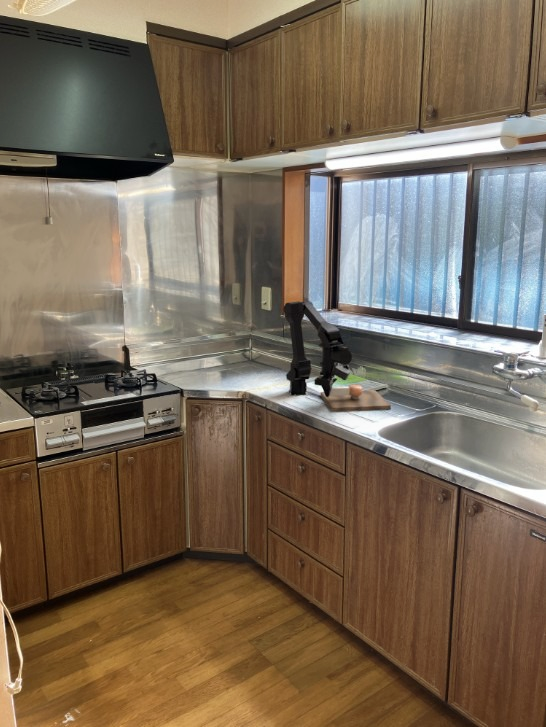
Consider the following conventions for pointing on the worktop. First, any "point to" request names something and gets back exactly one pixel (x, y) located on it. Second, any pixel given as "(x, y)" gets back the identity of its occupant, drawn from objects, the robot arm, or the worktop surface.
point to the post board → (356, 402)
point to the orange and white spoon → (346, 391)
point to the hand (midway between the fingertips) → (327, 396)
